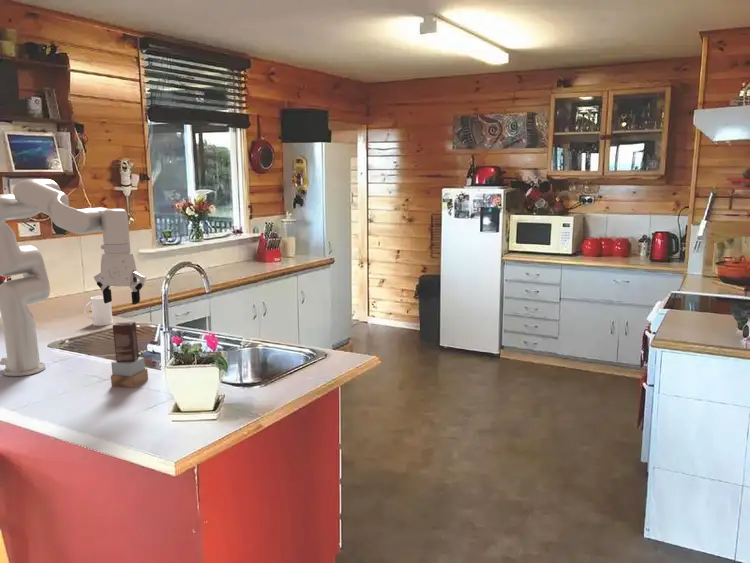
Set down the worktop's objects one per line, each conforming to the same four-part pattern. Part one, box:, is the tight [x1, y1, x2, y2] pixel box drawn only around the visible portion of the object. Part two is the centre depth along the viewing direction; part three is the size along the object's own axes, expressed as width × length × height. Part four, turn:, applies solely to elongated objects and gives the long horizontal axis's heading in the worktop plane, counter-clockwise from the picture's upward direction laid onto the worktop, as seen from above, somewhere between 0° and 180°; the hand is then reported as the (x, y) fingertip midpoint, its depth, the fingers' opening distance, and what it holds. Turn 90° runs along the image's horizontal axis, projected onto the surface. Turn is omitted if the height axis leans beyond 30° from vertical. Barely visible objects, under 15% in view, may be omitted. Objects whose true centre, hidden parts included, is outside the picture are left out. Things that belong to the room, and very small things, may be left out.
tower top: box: [110, 356, 146, 376], centre depth 202 cm, size 7×7×4 cm
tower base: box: [110, 368, 149, 389], centre depth 203 cm, size 8×8×4 cm
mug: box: [83, 294, 114, 327], centre depth 277 cm, size 12×8×12 cm
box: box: [112, 321, 140, 362], centre depth 201 cm, size 6×4×12 cm
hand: (122, 302), depth 199 cm, fingers open, 9 cm apart
